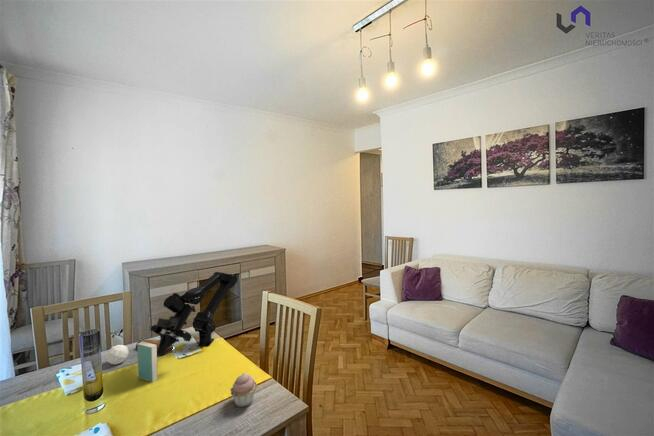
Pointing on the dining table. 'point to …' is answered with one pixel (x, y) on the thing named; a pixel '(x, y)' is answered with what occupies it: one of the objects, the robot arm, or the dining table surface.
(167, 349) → the sunglasses case
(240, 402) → the cupcake
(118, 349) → the geometric ball
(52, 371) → the dining table surface
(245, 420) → the dining table surface
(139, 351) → the wooden block
